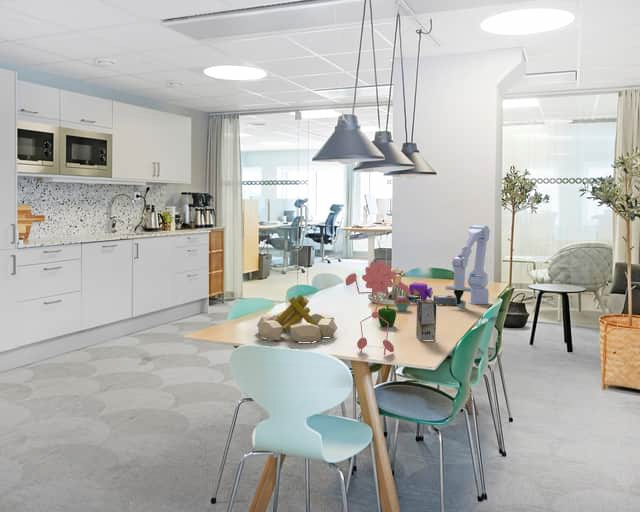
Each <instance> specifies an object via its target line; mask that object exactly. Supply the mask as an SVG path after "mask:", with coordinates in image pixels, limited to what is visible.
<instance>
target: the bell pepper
mask: <svg viewBox="0 0 640 512" xmlns="http://www.w3.org/2000/svg"><path fill="white" fill-rule="evenodd" d="M389 306H390V305H389V303H387V304H386V308H385V307H382V308H379V309H378V310H377V312H378V314H379V316H380V317H381V318H383V319H384V320H385V321H386V322H388V323H386V322H385V321H384V320H382V319H381V318H380V317H378V318H377V319H378V323H379V325H380V326H381V325H382V327H385V326H386V327H388V324H389V326H390V327H393V326H394V325H395V323H396V318H397V310H396V309H395V308H391V307H389Z"/></svg>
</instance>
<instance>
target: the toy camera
mask: <svg viewBox="0 0 640 512" xmlns="http://www.w3.org/2000/svg"><path fill="white" fill-rule="evenodd" d="M408 289H409V290H410V294H411V295H415V296H421V300H428V299H427V298H429V299H431V298H432V296H433V294H434V292H433V289H432V287H429V288H428V284H427V283H421V282H417V281H413V283H410V284H409V286H408Z"/></svg>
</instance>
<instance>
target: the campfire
mask: <svg viewBox="0 0 640 512" xmlns="http://www.w3.org/2000/svg"><path fill="white" fill-rule="evenodd" d="M288 302H289V303H290V304H289V306H288V307H286V309H285V310H283V311H280V312H278V313H276V314H271V313H270V314H269V313H268V314H267V313H266V314H263V315H262V316H261V317H260V320H258V322H257V325H256V326H257V328H258V329H257V332H258V333H259V334H260V336H261V338H262V337H263V338H266V339H268V340H277V341H279V340H280V338H281V336H282V334H283V333H285V334H286V333H287V332H288V331H290V338H291V339H292V340H293V341H295V342H296V341H298V342H314V341H317V340H318V341H320V340H322V338H321V337H331V338H333V336H334V335H333V334H335V333H336V331H337V330H338V325H337V324H336V322H335V321H334V320H335V317H334V316H332V315H331V314H329V313H327V312H318V313H313V314H311V315H310V314H309V313H310V311H311V309H310V307H308V306H307V305H308V304H309V302H310V301H309V300H308V299H307V298H305V297H304V296H303V295H301V294H299V295H298V296H297V297H295V296H293V297H292V298H291V299H289V300H288ZM303 319H304V321H305V322H303ZM332 335H333V336H332ZM263 338H262V339H263ZM268 340H267V341H268ZM318 341H317V342H318ZM298 342H297V343H298Z"/></svg>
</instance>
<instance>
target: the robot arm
mask: <svg viewBox="0 0 640 512" xmlns="http://www.w3.org/2000/svg"><path fill="white" fill-rule="evenodd" d="M489 238H490V229H489V226H488V225H474V224H471V225H470V226H469V228H468V237H467V240H466V242H465V244H464V245H462V246H461V248H460V250H459V252H458V254H457V255H456V256H455V257H454V258H453V259H452V262H451V263H452V266H453V267H452V269H453V272H454V273H453V285H446V286H445V290H446V291H453V295H454V297H456V299H457V304H460V299H461V300H462V297H463V295H464V292H468V293H470V300H468V301H467V302H468V303H470V304H471V305H489V288H488V287H487V286H488V284H489V280H488V274H487V273H486V272H485V271H484V267H485V260H486V252H487V251H486V250H487V243H488V241H489ZM475 243H476V250H475V259H474V267H473V270H472V271H470V272H469V275H468V277H467V278H468V279H467V284H468V286H469V287H468V286H467V287H466V286H465V285H466V284H465V283H466V282H465V280H466V268H467V267H468V263H469V258H470V256H471V253H472V251H473V250H472V247H473V246H474V244H475Z"/></svg>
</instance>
